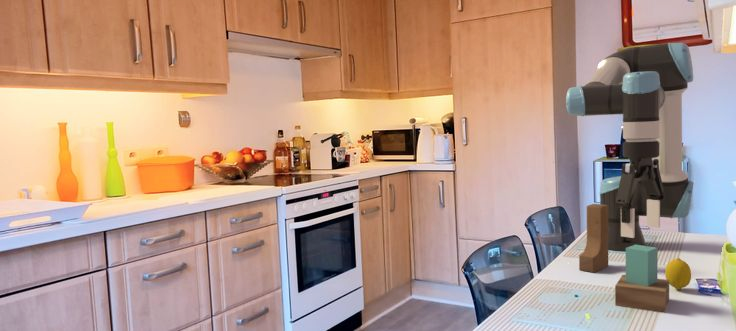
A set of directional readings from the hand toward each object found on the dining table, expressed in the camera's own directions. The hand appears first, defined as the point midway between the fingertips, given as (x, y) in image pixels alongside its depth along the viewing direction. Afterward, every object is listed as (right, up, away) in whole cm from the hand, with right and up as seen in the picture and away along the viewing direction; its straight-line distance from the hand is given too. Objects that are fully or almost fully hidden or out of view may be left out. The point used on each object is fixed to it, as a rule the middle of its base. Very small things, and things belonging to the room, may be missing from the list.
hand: (640, 231), depth 126 cm
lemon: (+13, -16, +8) cm, 22 cm away
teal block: (0, -12, 0) cm, 12 cm away
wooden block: (+1, -14, +29) cm, 33 cm away
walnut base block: (0, -17, 0) cm, 17 cm away
